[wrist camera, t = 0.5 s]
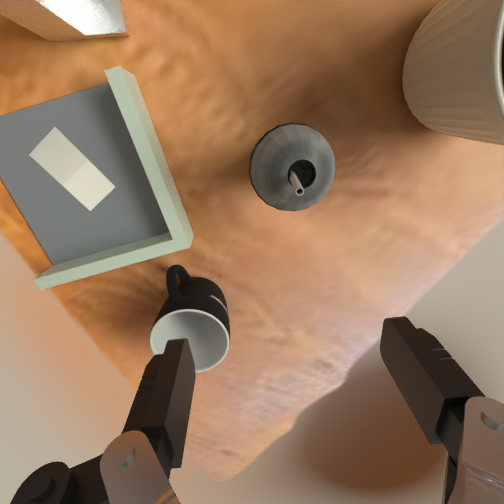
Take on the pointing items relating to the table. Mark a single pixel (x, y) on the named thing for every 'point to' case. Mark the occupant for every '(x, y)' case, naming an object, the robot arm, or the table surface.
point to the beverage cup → (292, 167)
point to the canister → (459, 70)
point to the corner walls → (160, 183)
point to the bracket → (68, 18)
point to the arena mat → (78, 175)
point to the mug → (193, 319)
